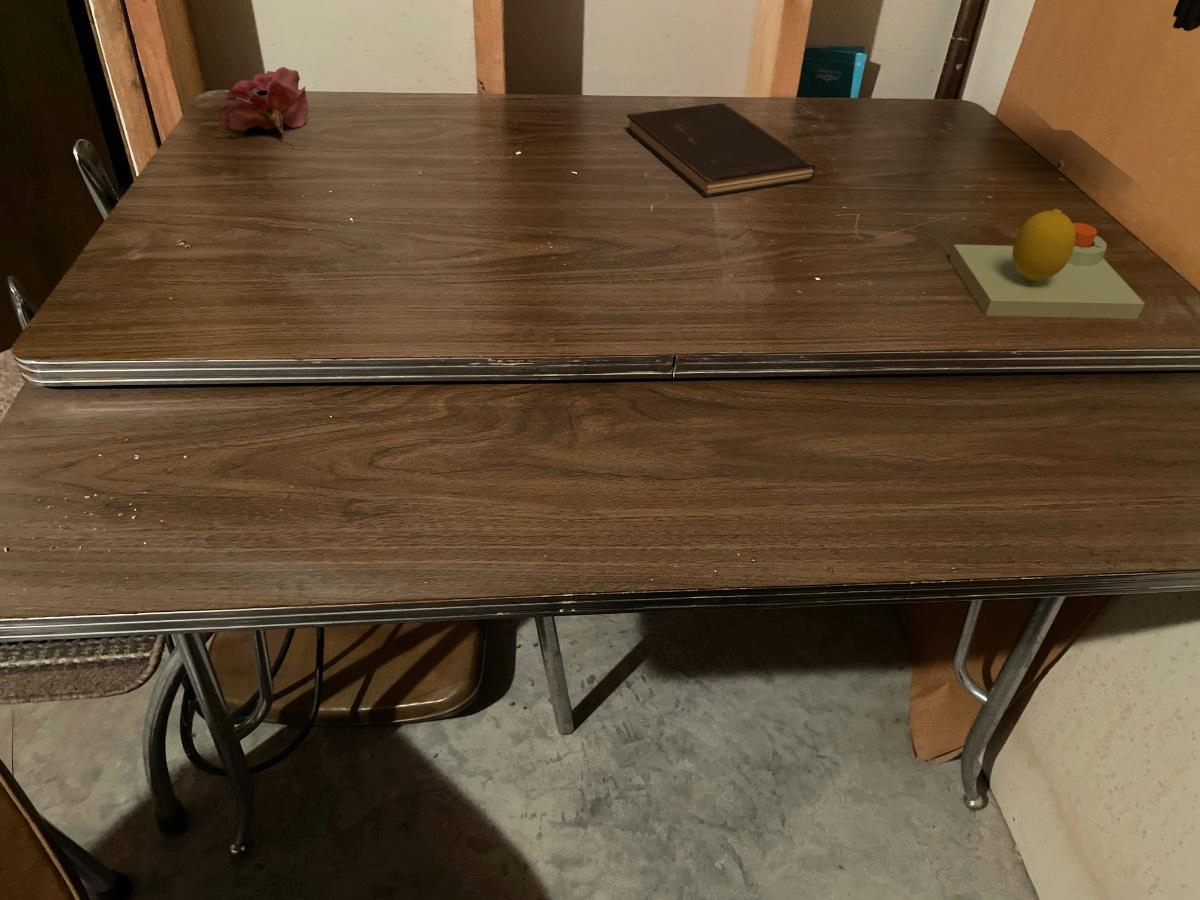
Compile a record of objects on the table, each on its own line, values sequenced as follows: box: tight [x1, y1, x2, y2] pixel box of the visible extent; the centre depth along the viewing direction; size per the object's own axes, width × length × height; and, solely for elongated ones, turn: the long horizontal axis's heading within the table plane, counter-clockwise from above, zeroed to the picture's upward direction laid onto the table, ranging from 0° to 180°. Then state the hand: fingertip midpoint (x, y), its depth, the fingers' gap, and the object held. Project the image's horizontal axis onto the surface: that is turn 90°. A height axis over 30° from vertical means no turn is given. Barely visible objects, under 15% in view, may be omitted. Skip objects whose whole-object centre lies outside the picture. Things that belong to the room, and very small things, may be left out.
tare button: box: [1072, 222, 1098, 248], centre depth 100 cm, size 3×3×2 cm
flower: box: [218, 66, 309, 147], centre depth 120 cm, size 11×10×10 cm
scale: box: [948, 235, 1145, 320], centre depth 98 cm, size 16×13×4 cm
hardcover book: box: [625, 102, 816, 198], centre depth 122 cm, size 16×23×2 cm
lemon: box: [1012, 208, 1076, 282], centre depth 93 cm, size 6×6×8 cm
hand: (1186, 27), depth 95 cm, fingers closed
